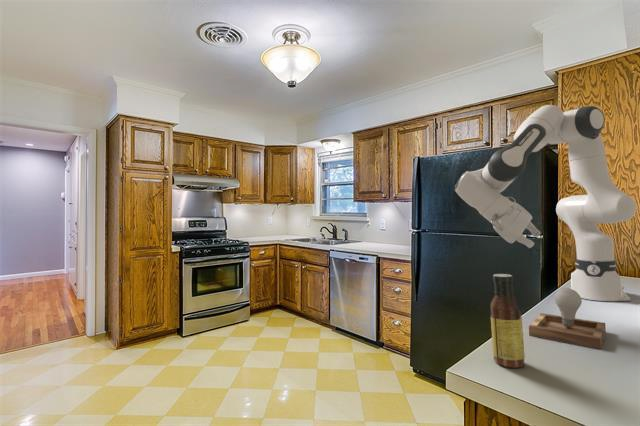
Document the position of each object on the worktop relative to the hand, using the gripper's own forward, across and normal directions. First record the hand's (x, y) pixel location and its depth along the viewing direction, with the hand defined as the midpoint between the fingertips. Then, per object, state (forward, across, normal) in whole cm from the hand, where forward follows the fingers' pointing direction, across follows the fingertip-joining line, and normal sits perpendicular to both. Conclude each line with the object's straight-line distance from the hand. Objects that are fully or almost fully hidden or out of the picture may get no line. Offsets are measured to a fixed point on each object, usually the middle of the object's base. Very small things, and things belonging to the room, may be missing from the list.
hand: (535, 240), depth 104 cm
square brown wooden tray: (+21, -16, +8) cm, 28 cm away
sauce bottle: (+10, -43, +8) cm, 45 cm away
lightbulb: (+21, -13, +8) cm, 26 cm away
